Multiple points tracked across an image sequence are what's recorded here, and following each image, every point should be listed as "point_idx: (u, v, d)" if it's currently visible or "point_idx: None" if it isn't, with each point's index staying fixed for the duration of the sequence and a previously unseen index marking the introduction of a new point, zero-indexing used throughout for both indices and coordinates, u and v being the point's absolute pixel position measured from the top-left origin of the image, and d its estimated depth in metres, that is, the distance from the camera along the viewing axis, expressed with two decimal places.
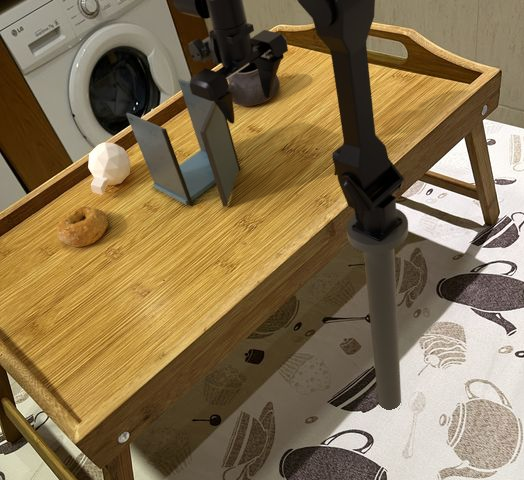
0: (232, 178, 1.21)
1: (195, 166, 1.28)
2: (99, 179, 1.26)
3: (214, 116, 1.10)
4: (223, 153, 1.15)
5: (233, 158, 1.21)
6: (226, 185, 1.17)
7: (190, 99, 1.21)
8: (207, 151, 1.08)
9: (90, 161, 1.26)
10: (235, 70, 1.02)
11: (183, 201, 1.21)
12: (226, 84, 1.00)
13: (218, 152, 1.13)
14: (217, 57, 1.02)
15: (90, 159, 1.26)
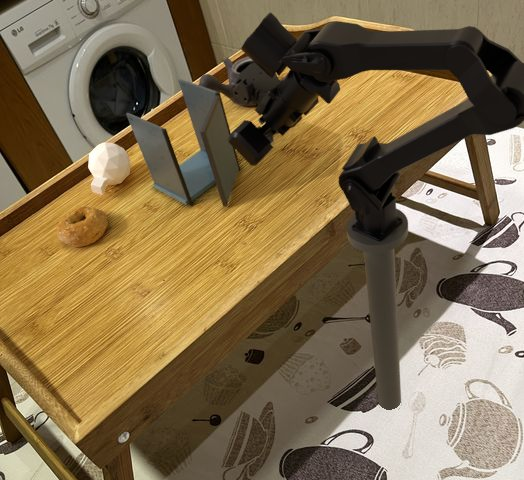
0: (232, 178, 1.21)
1: (195, 166, 1.28)
2: (99, 179, 1.26)
3: (214, 116, 1.10)
4: (223, 153, 1.15)
5: (233, 158, 1.21)
6: (226, 185, 1.17)
7: (190, 99, 1.21)
8: (207, 151, 1.08)
9: (90, 161, 1.26)
10: None
11: (183, 201, 1.21)
12: None
13: (218, 152, 1.13)
14: (263, 111, 0.95)
15: (90, 159, 1.26)
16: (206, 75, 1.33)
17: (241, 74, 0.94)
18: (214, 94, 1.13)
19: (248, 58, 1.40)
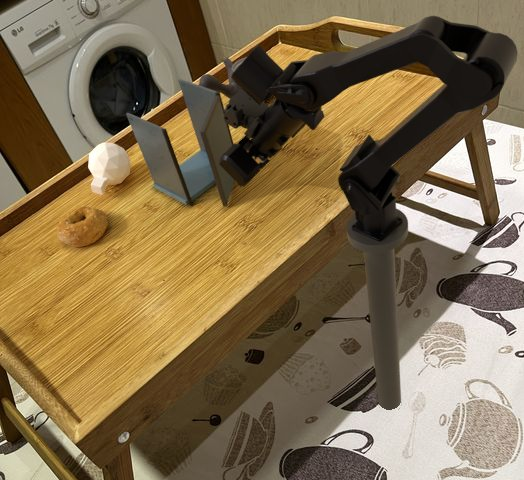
0: (232, 178, 1.21)
1: (195, 166, 1.28)
2: (99, 179, 1.26)
3: (214, 116, 1.10)
4: (223, 153, 1.15)
5: None
6: (226, 185, 1.17)
7: (190, 99, 1.21)
8: (207, 151, 1.08)
9: (90, 161, 1.26)
10: None
11: (183, 201, 1.21)
12: (257, 173, 1.02)
13: (218, 152, 1.13)
14: (252, 135, 1.01)
15: (90, 159, 1.26)
16: (206, 75, 1.33)
17: (231, 100, 0.99)
18: (214, 94, 1.13)
19: None
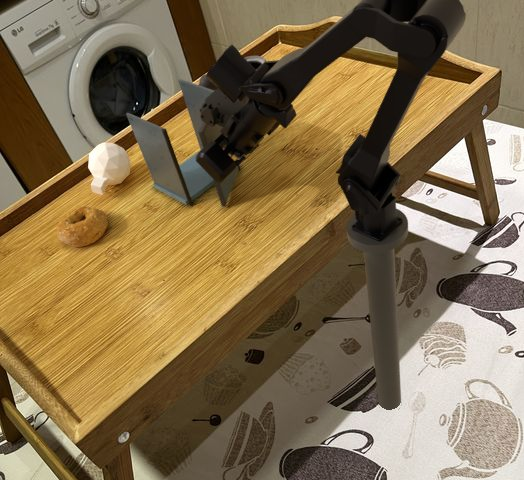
0: (231, 178, 1.21)
1: (195, 166, 1.28)
2: (99, 179, 1.26)
3: None
4: None
5: None
6: (225, 185, 1.17)
7: (190, 99, 1.21)
8: None
9: (90, 161, 1.26)
10: None
11: (183, 201, 1.21)
12: (233, 170, 1.05)
13: None
14: (228, 132, 1.04)
15: (90, 159, 1.26)
16: None
17: (207, 99, 1.02)
18: None
19: (248, 58, 1.40)
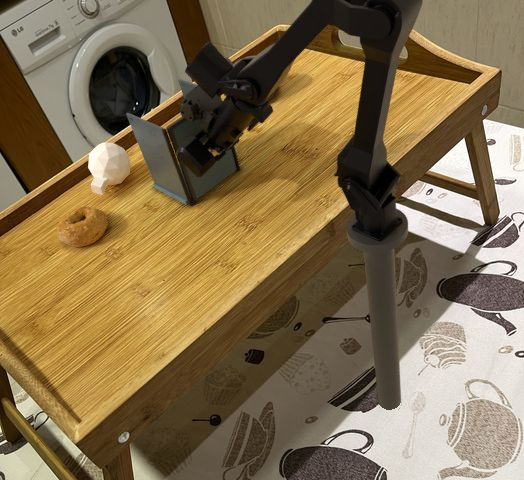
0: (218, 176, 1.22)
1: None
2: (99, 179, 1.26)
3: None
4: None
5: (227, 158, 1.22)
6: (201, 182, 1.20)
7: None
8: (173, 146, 1.12)
9: (90, 161, 1.26)
10: None
11: (183, 201, 1.21)
12: (213, 164, 1.07)
13: None
14: (208, 128, 1.06)
15: (90, 159, 1.26)
16: None
17: (187, 95, 1.05)
18: None
19: None
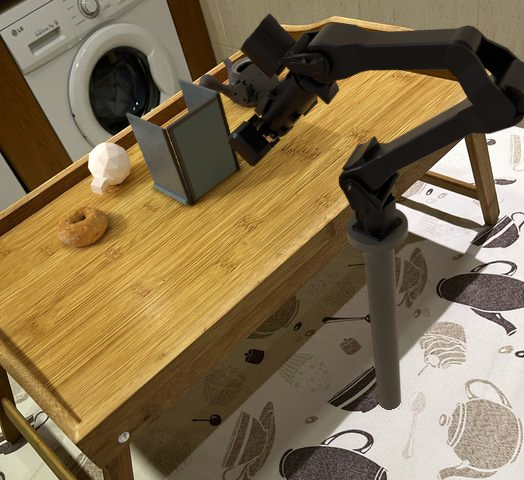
0: (218, 176, 1.22)
1: None
2: (99, 179, 1.26)
3: (198, 115, 1.12)
4: (206, 151, 1.17)
5: (227, 158, 1.22)
6: (201, 182, 1.20)
7: (190, 99, 1.21)
8: (173, 146, 1.12)
9: (90, 161, 1.26)
10: None
11: (183, 201, 1.21)
12: (268, 152, 0.97)
13: (194, 149, 1.15)
14: (262, 112, 0.96)
15: (90, 159, 1.26)
16: (206, 75, 1.33)
17: (240, 75, 0.94)
18: (214, 94, 1.13)
19: (248, 58, 1.40)
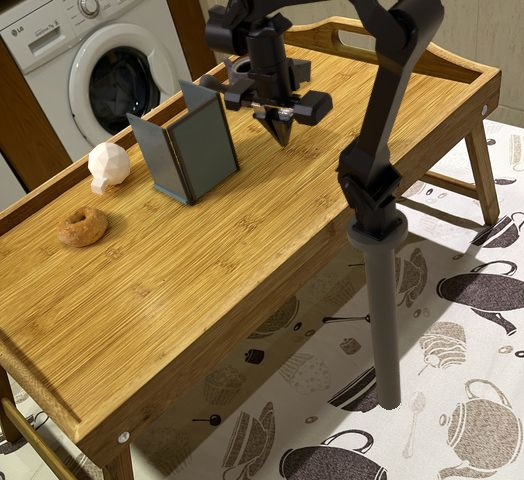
0: (218, 176, 1.22)
1: None
2: (99, 179, 1.26)
3: (198, 115, 1.12)
4: (206, 151, 1.17)
5: (227, 158, 1.22)
6: (201, 182, 1.20)
7: (190, 99, 1.21)
8: (173, 146, 1.12)
9: (90, 161, 1.26)
10: (282, 106, 0.97)
11: (183, 201, 1.21)
12: (237, 105, 1.01)
13: (194, 149, 1.15)
14: None
15: (90, 159, 1.26)
16: (206, 75, 1.33)
17: (293, 58, 1.01)
18: (214, 94, 1.13)
19: (248, 58, 1.40)
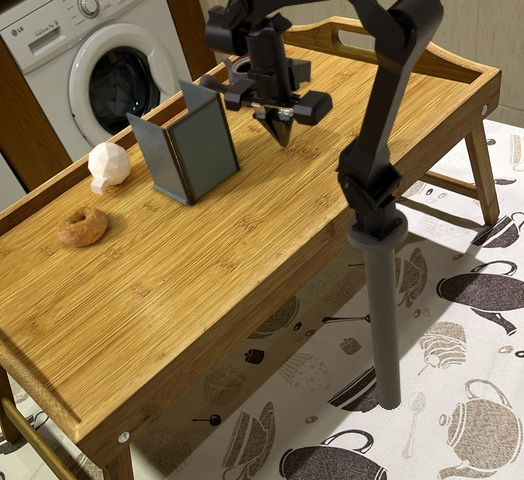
0: (218, 176, 1.22)
1: None
2: (99, 179, 1.26)
3: (198, 115, 1.12)
4: (206, 151, 1.17)
5: (227, 158, 1.22)
6: (201, 182, 1.20)
7: (190, 99, 1.21)
8: (173, 146, 1.12)
9: (90, 161, 1.26)
10: (282, 106, 0.97)
11: (183, 201, 1.21)
12: (237, 105, 1.01)
13: (194, 149, 1.15)
14: None
15: (90, 159, 1.26)
16: (206, 75, 1.33)
17: None
18: (214, 94, 1.13)
19: (248, 58, 1.40)
